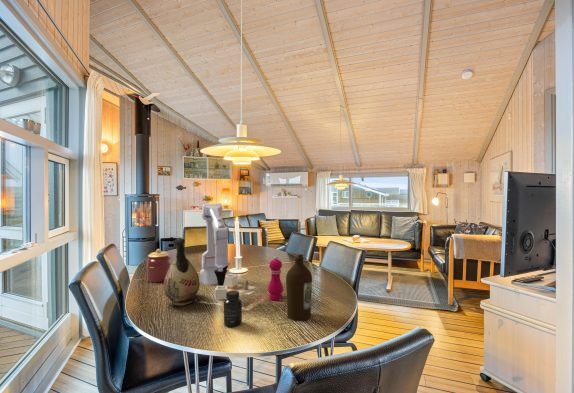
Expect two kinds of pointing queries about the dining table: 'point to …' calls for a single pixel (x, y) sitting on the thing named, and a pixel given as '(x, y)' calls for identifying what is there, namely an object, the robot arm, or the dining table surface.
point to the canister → (157, 266)
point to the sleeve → (221, 292)
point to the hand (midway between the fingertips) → (221, 283)
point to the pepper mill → (275, 280)
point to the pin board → (241, 290)
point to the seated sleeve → (231, 281)
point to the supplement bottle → (232, 309)
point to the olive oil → (299, 290)
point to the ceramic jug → (181, 278)
